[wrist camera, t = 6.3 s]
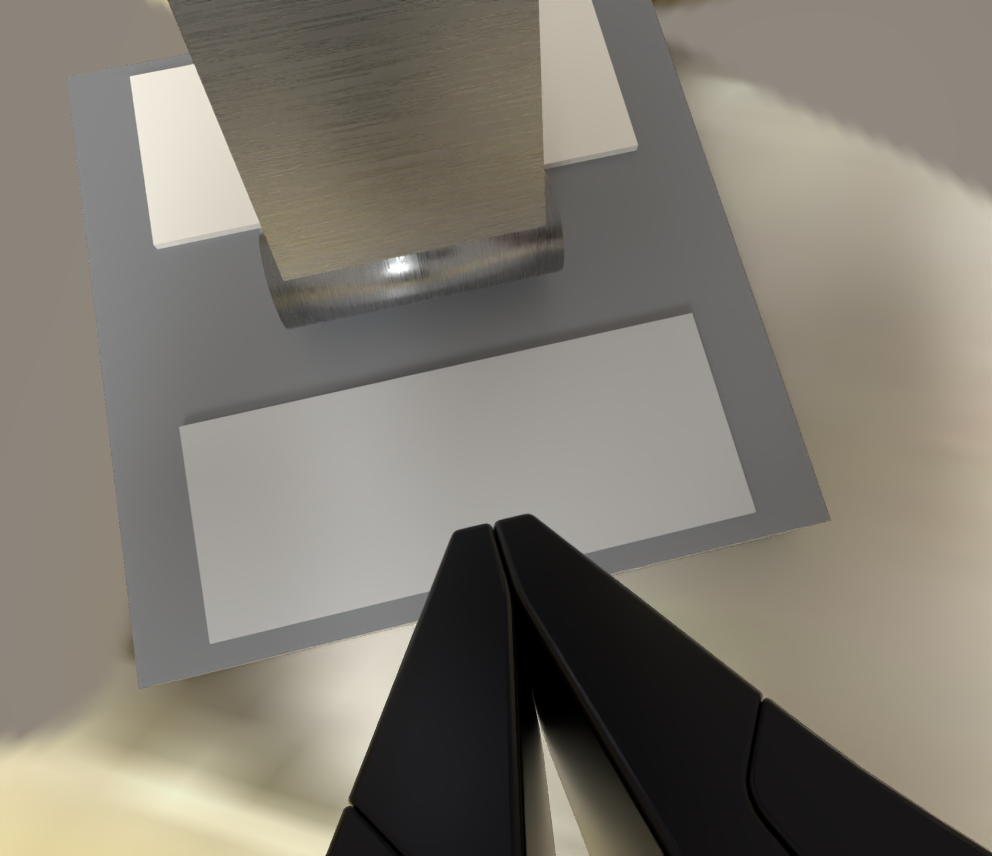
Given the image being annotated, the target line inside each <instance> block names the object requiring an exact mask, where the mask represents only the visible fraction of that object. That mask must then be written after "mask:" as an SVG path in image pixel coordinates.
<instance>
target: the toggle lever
mask: <svg viewBox="0 0 992 856" xmlns="http://www.w3.org/2000/svg"><path fill="white" fill-rule="evenodd" d="M168 2H169V5H170V7H171V10H172V12H173V15H174V17H175V19H176V22H177V24H178V27H179V29H180V31H181V34H182V36H183V39H184V41H185V43H186V46H187V48H188V51H189V53H190V56H191V58H192V60H193V63H194V65H195V68H196V70H197V73H198V75H199V77H200V80H201V82H202V85H203V87H204V89H205V92H206V94H207V97H208V99H209V102H210V104H211V106H212V109H213V111H214V114H215V116H216V118H217V121H218V123H219V126H220V128H221V131H222V133H223V135H224V138H225V140H226V143H227V145H228V147H229V150H230V152H231V155H232V157H233V160H234V162H235V164H236V167H237V169H238V172H239V174H240V177H241V179H242V181H243V184H244V186H245V189H246V191H247V193H248V196H249V198H250V201H251V203H252V206H253V208H254V210H255V213H256V215H257V218H258V220H259V222H260V225H261V227H262V228H261V229H260V231H259V246H260V253H261V259H262V264H263V268H264V273H265V277H266V280H267V284H268V287H269V291H270V294H271V297H272V300H273V303H274V305H275V308H276V311H277V313H278V315H279V317H280V320H281V321H282V323H283V325H284V326H285V328H286V329H288V330H290V329H294V328H299V327H303V326H308V325H313V324H317V323H322V322H327V321H331V320H336V319H341V318H345V317H350V316H354V315H359V314H364V313H368V312H373V311H378V310H382V309H387V308H392V307H396V306H401V305H405V304H410V303H415V302H419V301H424V300H429V299H433V298H438V297H443V296H447V295H452V294H456V293H461V292H466V291H470V290H475V289H480V288H484V287H489V286H494V285H498V284H503V283H507V282H512V281H517V280H521V279H526V278H531V277H535V276H540V275H545V274H549V273H554V272H558V271H561V270H562V269H563V265H564V240H563V231H562V224H561V218H560V213H559V208H558V204H557V200H556V196H555V193H554V190H553V187H552V184H551V181H550V179H549V177H548V175H547V173H546V172H545V171H544V150H543V119H542V87H541V55H540V23H539V0H168Z"/></svg>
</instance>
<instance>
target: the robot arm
mask: <svg viewBox="0 0 992 856" xmlns="http://www.w3.org/2000/svg"><path fill="white" fill-rule="evenodd" d="M535 708H536V709H535ZM536 711H537V713H536ZM537 715H538V718H539V722H540V725H541V729H542V732H543V735H544V737H545V740H546V743H547V746H548V749H549V752H550V754H551V757H552V759H553V762H554V764H555V767H556V770H557V772H558V775H559V777H560V780H561V782H562V785H563V788H564V790H565V793H566V795H567V798H568V800H569V803H570V806H571V808H572V811H573V813H574V816H575V819H576V821H577V824H578V826H579V829H580V831H581V834H582V837H583V839H584V842H585V844H586V847H587V849H588V852H589V855H590V856H992V852H991V851H989V850H988V849H986V848H984V847H983V846H981V845H980V844H978V843H977V842H975V841H973V840H972V839H970V838H969V837H967V836H966V835H964V834H962V833H961V832H959V831H958V830H956V829H954V828H953V827H951V826H950V825H948V824H947V823H945V822H943V821H942V820H940V819H939V818H937V817H936V816H934V815H932V814H931V813H929V812H928V811H926V810H925V809H923V808H922V807H920V806H919V805H917V804H916V803H914V802H913V801H911V800H910V799H908V798H907V797H905V796H904V795H902V794H901V793H899V792H898V791H896V790H895V789H893V788H892V787H890V786H889V785H887V784H886V783H884V782H883V781H881V780H880V779H878V778H877V777H875V776H874V775H872V774H871V773H869V772H868V771H866V770H865V769H863V768H862V767H860V766H859V765H857V764H856V763H855V762H853V761H852V760H851V759H849V758H848V757H847V756H845V755H844V754H843V753H841V752H840V751H838V750H837V749H836V748H834V747H833V746H832V745H830V744H829V743H828V742H826V741H825V740H824V739H822V738H821V737H819V736H818V735H817V734H815V733H814V732H813V731H811V730H810V729H809V728H807V727H806V726H805V725H803V724H802V723H801V722H799V721H798V720H797V719H795V718H794V717H793V716H792V715H790V714H789V713H788V712H787V711H785V710H784V709H783V708H781V707H780V706H779V705H778V704H776V703H775V702H774V701H773V700H771V699H769V698H766V699H764V700H763V695H762V693H761V692H760V691H759V690H758V689H757V688H755V687H754V686H753V685H751V684H750V683H749V682H748V681H746V680H745V679H744V678H742V677H741V676H740V675H739V674H737V673H736V672H735V671H733V670H732V669H731V668H730V667H728V666H727V665H726V664H724V663H723V662H722V661H721V660H719V659H718V658H717V657H715V656H714V655H713V654H712V653H710V652H709V651H708V650H706V649H705V648H704V647H703V646H701V645H700V644H699V643H697V642H696V641H695V640H694V639H692V638H691V637H690V636H688V635H687V634H686V633H685V632H683V631H682V630H681V629H679V628H678V627H677V626H676V625H674V624H673V623H672V622H670V621H669V620H668V619H667V618H665V617H664V616H663V615H661V614H660V613H659V612H658V611H656V610H655V609H654V608H652V607H651V606H650V605H648V604H647V603H646V602H645V601H643V600H642V599H641V598H639V597H638V596H637V595H636V594H634V593H633V592H632V591H630V590H629V589H628V588H627V587H625V586H624V585H623V584H621V583H620V582H619V581H618V580H616V579H615V578H614V577H612V576H611V575H610V574H609V573H607V572H606V571H605V570H603V569H602V568H601V567H600V566H598V565H597V564H596V563H594V562H593V561H592V560H591V559H589V558H588V557H587V556H585V555H584V554H583V553H582V552H580V551H579V550H578V549H576V548H575V547H574V546H573V545H571V544H570V543H569V542H567V541H566V540H565V539H564V538H562V537H561V536H560V535H558V534H557V533H556V532H555V531H553V530H552V529H551V528H549V527H548V526H547V525H546V524H544V523H543V522H542V521H540V520H539V519H538V518H537V517H535V516H534V515H532V514H529V513H528V514H522V515H518V516H513V517H509V518H505V519H501V520H498V521H496V522H495V524H494V529H493V527H492V526H491V525H490V524H488V523H484V524H480V525H475V526H471V527H467V528H462V529H458V530H456V531H455V532H453V534H452V536H451V538H450V540H449V543H448V545H447V548H446V550H445V553H444V555H443V558H442V561H441V563H440V566H439V568H438V571H437V573H436V576H435V578H434V581H433V584H432V586H431V589H430V591H429V594H428V596H427V599H426V601H425V604H424V607H423V609H422V612H421V614H420V617H419V619H418V622H417V624H416V627H415V630H414V632H413V635H412V637H411V640H410V642H409V645H408V647H407V650H406V653H405V655H404V658H403V660H402V663H401V665H400V668H399V670H398V673H397V676H396V678H395V681H394V683H393V686H392V688H391V691H390V693H389V696H388V699H387V701H386V704H385V706H384V709H383V711H382V714H381V716H380V719H379V722H378V724H377V727H376V729H375V732H374V734H373V737H372V739H371V742H370V745H369V747H368V750H367V752H366V755H365V757H364V760H363V762H362V765H361V768H360V770H359V773H358V775H357V778H356V780H355V783H354V786H353V788H352V791H351V793H350V796H349V799H348V802H349V805H350V806H347V807H346V808H345V809H344V810H343V812H342V815H341V818H340V820H339V823H338V825H337V828H336V830H335V833H334V836H333V838H332V841H331V843H330V846H329V848H328V851H327V854H326V856H556V853H555V845H554V837H553V829H552V820H551V812H550V804H549V795H548V787H547V779H546V771H545V762H544V754H543V748H542V741H541V734H540V728H539V723H538V718H537Z"/></svg>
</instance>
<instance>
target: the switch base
mask: <svg viewBox="0 0 992 856" xmlns="http://www.w3.org/2000/svg"><path fill="white" fill-rule="evenodd" d="M539 23H540V55H541V87H542V119H543V150H544V171H545V172H546V173H547V175H548V177H549V179H550V181H551V184H552V187H553V190H554V193H555V196H556V200H557V204H558V208H559V213H560V218H561V224H562V231H563V240H564V265H563V269H562V270H561V271H558V272H554V273H549V274H545V275H540V276H535V277H531V278H526V279H521V280H517V281H512V282H507V283H503V284H498V285H494V286H489V287H484V288H480V289H475V290H470V291H466V292H461V293H456V294H452V295H447V296H443V297H438V298H433V299H429V300H424V301H419V302H415V303H410V304H405V305H401V306H396V307H392V308H387V309H382V310H378V311H373V312H368V313H364V314H359V315H354V316H350V317H345V318H341V319H336V320H331V321H327V322H322V323H317V324H313V325H308V326H303V327H299V328H294V329H290V330H288V329H286V328H285V326H284V325H283V323H282V321H281V320H280V317H279V315H278V313H277V311H276V308H275V305H274V303H273V300H272V297H271V294H270V291H269V287H268V284H267V280H266V277H265V273H264V268H263V264H262V259H261V253H260V246H259V231H260V229H261V228H262V227H261V225H260V222H259V220H258V218H257V215H256V213H255V210H254V208H253V206H252V203H251V201H250V198H249V196H248V193H247V191H246V189H245V186H244V184H243V181H242V179H241V177H240V174H239V172H238V169H237V167H236V164H235V162H234V160H233V157H232V155H231V152H230V150H229V147H228V145H227V143H226V140H225V138H224V135H223V133H222V131H221V128H220V126H219V123H218V121H217V118H216V116H215V114H214V111H213V109H212V106H211V104H210V102H209V99H208V97H207V94H206V92H205V89H204V87H203V85H202V82H201V80H200V77H199V75H198V73H197V70H196V68H195V65H194V63H193V60H192V58H191V56H190V53H189V54H184V55H179V56H174V57H169V58H163V59H158V60H153V61H148V62H143V63H137V64H132V65H126V66H121V67H116V68H110V69H105V70H100V71H95V72H90V73H84V74H79V75H74V76H68V77H67V82H68V90H69V99H70V107H71V116H72V124H73V133H74V141H75V150H76V158H77V167H78V175H79V183H80V192H81V201H82V209H83V218H84V226H85V234H86V243H87V251H88V260H89V269H90V277H91V286H92V294H93V303H94V311H95V320H96V328H97V337H98V345H99V354H100V362H101V370H102V379H103V388H104V396H105V405H106V413H107V422H108V430H109V439H110V447H111V456H112V464H113V472H114V481H115V490H116V498H117V507H118V515H119V524H120V532H121V541H122V549H123V558H124V566H125V575H126V583H127V592H128V600H129V609H130V617H131V626H132V634H133V643H134V651H135V660H136V668H137V677H138V685H139V689H141V688H146V687H151V686H156V685H161V684H166V683H170V682H175V681H180V680H184V679H188V678H193V677H197V676H201V675H205V674H209V673H213V672H217V671H221V670H225V669H229V668H234V667H238V666H242V665H246V664H250V663H254V662H258V661H262V660H266V659H270V658H275V657H279V656H283V655H287V654H291V653H295V652H299V651H303V650H307V649H311V648H316V647H320V646H324V645H328V644H332V643H336V642H340V641H344V640H348V639H352V638H356V637H361V636H365V635H369V634H373V633H377V632H381V631H385V630H389V629H393V628H397V627H402V626H406V625H410V624H414V623H417V622H418V619H419V617H420V614H421V612H422V609H423V607H424V604H425V601H426V599H427V596H428V594H429V591H430V589H431V586H432V584H433V581H434V578H435V576H436V573H437V571H438V568H439V566H440V563H441V561H442V558H443V555H444V553H445V550H446V548H447V545H448V543H449V540H450V538H451V536H452V534H453V532H455V531H456V530H458V529H462V528H467V527H471V526H475V525H480V524H484V523H488V524H490V525H491V526H492V527H493V529H494V524H495V522H496V521H498V520H501V519H505V518H509V517H513V516H518V515H522V514H528V513H529V514H532V515H534V516H535V517H537V518H538V519H539V520H540V521H542V522H543V523H544V524H546V525H547V526H548V527H549V528H551V529H552V530H553V531H555V532H556V533H557V534H558V535H560V536H561V537H562V538H564V539H565V540H566V541H567V542H569V543H570V544H571V545H573V546H574V547H575V548H576V549H578V550H579V551H580V552H582V553H583V554H584V555H585V556H587V557H588V558H589V559H591V560H592V561H593V562H594V563H596V564H597V565H598V566H600V567H601V568H602V569H603V570H605V571H606V572H607V573H609V574H610V575H615V574H619V573H623V572H627V571H631V570H635V569H639V568H643V567H647V566H652V565H656V564H660V563H664V562H668V561H672V560H676V559H680V558H684V557H688V556H693V555H697V554H701V553H705V552H709V551H713V550H717V549H721V548H725V547H729V546H734V545H738V544H742V543H746V542H750V541H754V540H758V539H762V538H766V537H770V536H775V535H779V534H783V533H787V532H791V531H795V530H798V529H802V528H805V527H809V526H812V525H816V524H819V523H823V522H826V521H830V517H829V514H828V511H827V508H826V505H825V502H824V499H823V496H822V493H821V491H820V488H819V485H818V482H817V479H816V476H815V473H814V470H813V467H812V464H811V462H810V459H809V456H808V453H807V450H806V447H805V444H804V441H803V438H802V435H801V432H800V430H799V427H798V424H797V421H796V418H795V415H794V412H793V409H792V406H791V403H790V401H789V398H788V395H787V392H786V389H785V386H784V383H783V380H782V377H781V374H780V372H779V369H778V366H777V363H776V360H775V357H774V354H773V351H772V348H771V345H770V343H769V340H768V337H767V334H766V331H765V328H764V325H763V322H762V319H761V316H760V314H759V311H758V308H757V305H756V302H755V299H754V296H753V293H752V290H751V287H750V285H749V282H748V279H747V276H746V273H745V270H744V267H743V264H742V261H741V258H740V256H739V253H738V250H737V247H736V244H735V241H734V238H733V235H732V232H731V229H730V226H729V224H728V221H727V218H726V215H725V212H724V209H723V206H722V203H721V200H720V197H719V195H718V192H717V189H716V186H715V183H714V180H713V177H712V174H711V171H710V168H709V166H708V163H707V160H706V157H705V154H704V151H703V148H702V145H701V142H700V139H699V137H698V134H697V131H696V128H695V125H694V122H693V119H692V116H691V113H690V110H689V108H688V105H687V102H686V99H685V96H684V93H683V90H682V87H681V84H680V81H679V79H678V76H677V73H676V70H675V67H674V64H673V61H672V58H671V55H670V52H669V50H668V47H667V44H666V41H665V38H664V35H663V32H662V29H661V27H660V23H659V21H658V18H657V15H656V12H655V9H654V6H653V3H652V0H539Z"/></svg>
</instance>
